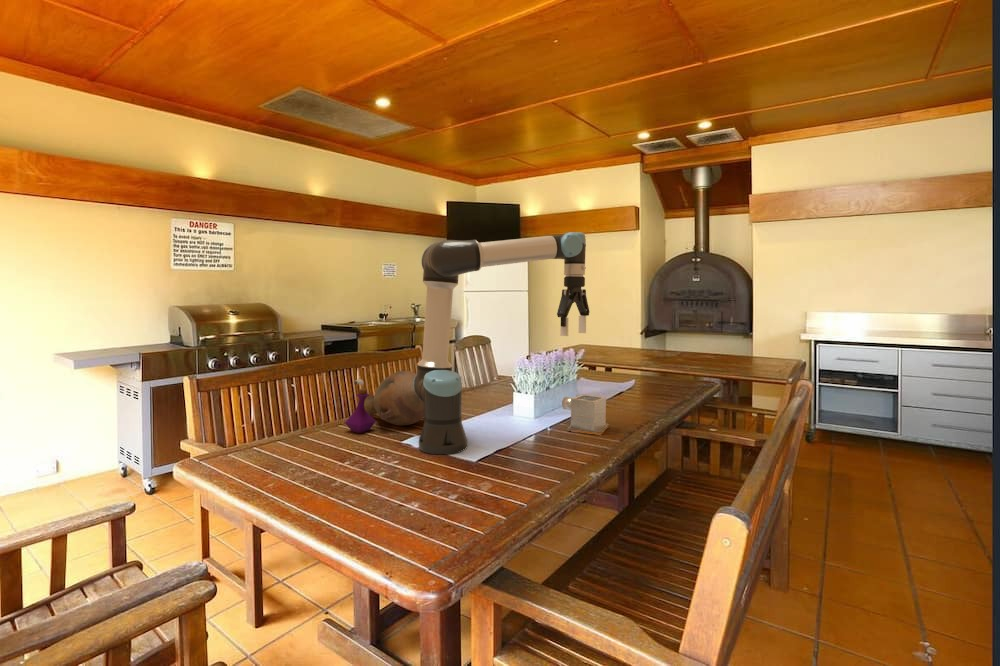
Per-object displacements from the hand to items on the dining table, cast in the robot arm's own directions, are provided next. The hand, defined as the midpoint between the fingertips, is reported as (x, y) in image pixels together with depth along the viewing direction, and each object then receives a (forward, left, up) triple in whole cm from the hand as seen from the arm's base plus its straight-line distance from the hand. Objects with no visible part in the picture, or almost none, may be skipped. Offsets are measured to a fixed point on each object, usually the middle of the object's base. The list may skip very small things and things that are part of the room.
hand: (573, 334), depth 188 cm
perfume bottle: (-63, -43, -33) cm, 83 cm away
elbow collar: (+6, -6, -31) cm, 33 cm away
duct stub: (+8, -7, -33) cm, 34 cm away
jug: (-60, -29, -33) cm, 74 cm away
